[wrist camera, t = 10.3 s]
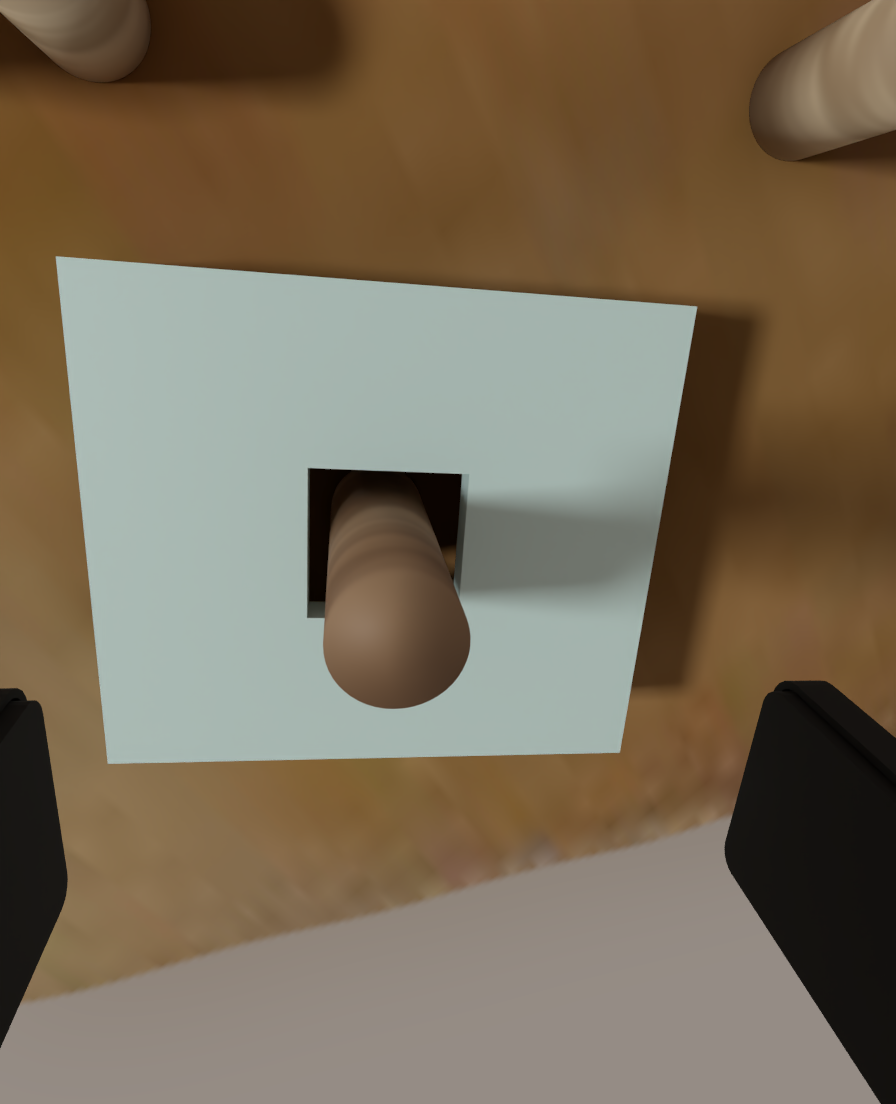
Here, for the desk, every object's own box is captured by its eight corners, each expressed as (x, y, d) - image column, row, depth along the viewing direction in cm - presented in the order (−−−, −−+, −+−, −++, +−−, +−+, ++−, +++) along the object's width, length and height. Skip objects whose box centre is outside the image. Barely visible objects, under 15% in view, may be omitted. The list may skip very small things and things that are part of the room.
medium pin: (760, 39, 21) (934, -70, 15) (854, 52, 21) (1059, -48, 15) (739, 155, 22) (894, 98, 16) (829, 165, 22) (1013, 114, 16)
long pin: (332, 462, 23) (324, 574, 14) (423, 465, 23) (477, 577, 14) (330, 548, 24) (321, 709, 15) (418, 551, 24) (464, 708, 15)
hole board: (109, 264, 20) (55, 256, 17) (639, 305, 23) (697, 306, 19) (143, 694, 25) (107, 763, 21) (582, 690, 27) (619, 752, 23)
